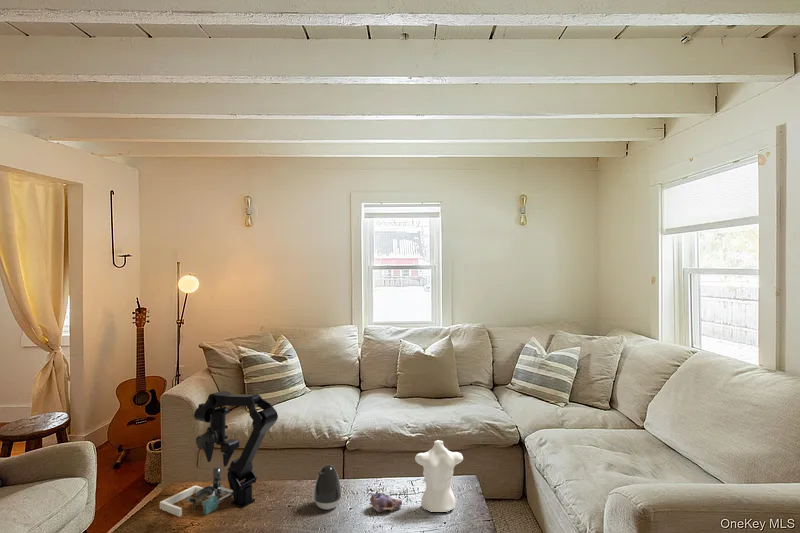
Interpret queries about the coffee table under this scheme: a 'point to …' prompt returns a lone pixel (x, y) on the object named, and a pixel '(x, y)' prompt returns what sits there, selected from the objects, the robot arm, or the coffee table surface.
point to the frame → (176, 510)
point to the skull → (384, 502)
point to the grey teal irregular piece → (213, 502)
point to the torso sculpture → (438, 477)
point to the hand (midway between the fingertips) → (217, 463)
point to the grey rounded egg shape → (327, 488)
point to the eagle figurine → (200, 497)
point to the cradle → (217, 491)
